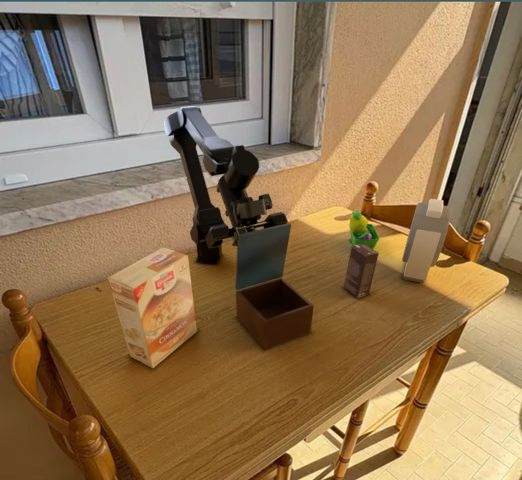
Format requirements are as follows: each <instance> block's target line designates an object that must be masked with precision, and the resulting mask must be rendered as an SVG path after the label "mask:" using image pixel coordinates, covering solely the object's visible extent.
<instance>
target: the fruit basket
mask: <svg viewBox="0 0 522 480" xmlns="http://www.w3.org/2000/svg"><path fill="white" fill-rule="evenodd" d="M348 226H349V231H350V232H349V233H350V241H351V244H352V246H355V245H360V244H365V245H367V246H368V247H370V248H372V249H373V250H375V247H376V245H377V243H378V242H379V240H380V237H379V235H378V232H377V231H376V228H375V226H374V224H372V223H369V220H368V218H366V217H365V216H364V215H362V213H361V212H360V211H352V212H351V215H350V216H349V224H348Z"/></svg>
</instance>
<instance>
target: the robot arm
mask: <svg viewBox="0 0 522 480" xmlns="http://www.w3.org/2000/svg"><path fill="white" fill-rule="evenodd" d="M163 130H164V133H165V136H166V137H167V139H168V141H169V144H170V146H171V147H172V148H173V149H174V150H175V151H176V152H177V153H178V154H179V157H180V160H181V163H182V167H183V171H184V175H185V178H186V177H187V178H186V181H187V184H188V188H189V192H190V195H191V199H192V203H193V206H194V211H193V215H192V219H191V220H192V226H191V229H190V231H189V235H190V239H191V241H193V243H194V244H195V246H196V255H197V257H196V259H195V263H201V264H208V265H218V263H219V262H220V260H221V259H222V257H223V247H222V245H223V242H224V240H226V239H227V240H228V239H232V241H233V242H232V243H231V245H232V247H237V243H238V235H239V234H243V233H248V232H252V231H256V230H261V229H265V228H269V227H274V226H278V225H283V224H287V223H289V220H288V218H287V215H286V213H284V212H282V211H279V212H275V213H269V214H268V211H269V210H272V209H273V207H274V206H273V205H274V204H273V201H272V198H271V196H270V193H264V194H263V193H262V194H261V195H258V199H255V200H254V198H253V197H252V196H249V195H248V192H247V190H246V189H247V188H249V186H250V185H251V183H252V181H253V180H254V178H255V176H256V175H257V174H258V172H259V169H260V161H259V159H258V158H257V157H256V155H255V154H254V153H252V151H250V150H247V149H246V148H245V146H244V144H240V145H233V144H232V143H231V142H230V141H229V140H227V139H224V138H221V137H220V136H218V135H217V133H216V132H215V130H214V129H213V128H212V126H211V124H209V122H208V121H207V119H206V118H205V116H204V115H203V113H202V109H201V108H200V106H197V105H191V106H189V105H188V106H181V107H180V108H178V109H177V110H176V111H175V112H172V113H171V114H169V115H167V116H166V118H165V119H164V121H163ZM197 147H198V148H199V149H200V151H201V153H202V163H203V167H204V170H205V171H206V172H207V173H208V175H209V176H211V177H216V176H221V177H219V179H218V181H217V183H216V185H217V186H216V193H219V194H220V197H221V199H222V203H223V205H224V207H225V211H224V215H225V216H226V217H228V218H229V221H230V224H231V228H229V225H228V224H226V222H225V220H224V219H223V217H222V213H221V209H220V207H218V206H215V205H214V204H213V203H212V201H211V197H210V194H209V190H208V186H207V182H206V179H205V175H204V171H203V168H202V165H201V161H200V157H199V154H198V153H199V152H198V149H197ZM265 215H267V216H266V218H265V219H264V220H262V221H261V219H262V216H265ZM258 220H259V221H258Z"/></svg>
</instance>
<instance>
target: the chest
mask: <svg viewBox="0 0 522 480" xmlns="http://www.w3.org/2000/svg"><path fill="white" fill-rule="evenodd" d="M235 298H236V299H235V301H236V302H235V303H236V304H235V305H236V307H235V308H236V319H237V320H238V321H239V322H240V323H241V324H242V326H243V327H244V328H245V330H247V332H248V333H249V334H250V335H251V336H252V338H254V340H255V341H256V342H257V343H258V344H259V345H260V347H261V348H262V350H268V349H270V348H273V347H276V346H278V345H281V344H285V343H286V342H289V341H292V340H295V339H297V338H300V337H303V336H305V335H308V334H310V333H311V331H312V323H313V314H314V308H315V307H314V306H315V305H314V304H313V303H312V302H310V301H309V299H307V298H306V297H305V296H303V294H301V293H300V292H299V291H298V290H296V289H295V288H294V287H293V286H292V285H291V284H289V282H287V281H286V280H285V279H284V278H283V277H280V278H277V279H274V280H270V281H267V282H263V283H260V284H256V285H253V286H249V287H246V288H243V289H239V290H236V291H235Z"/></svg>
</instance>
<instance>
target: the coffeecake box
mask: <svg viewBox="0 0 522 480" xmlns="http://www.w3.org/2000/svg"><path fill="white" fill-rule="evenodd" d="M107 280H108V285H109V288H110V291H111V295H112V298H113V301H114V305H115V309H116V313H117V317H118V319H119V323H120V327H121V330H122V333H123V336H124V340H125V344H126V347H127V351H128V353H129V357H130V358H131V359H134V360H136V361H138V362H140V363H142V364H144V365H145V366H147V367H149V368H151V369H155V367H157V366H158V365H159V364H160V363H161V362H162V361H163V360H165V359H166V358H167V357H168V356H169V355H171V354H172V353H174V351H176V350H177V349H178V348H179V347H181V346H182V345H183V344H184V343H185V342H186V341H188V339H190V338H191V337H192V336H194V335H195V334H196V333H198V326H197V318H196V312H195V311H196V310H195V302H194V294H193V287H192V286H193V285H192V278H191V270H190V261H189V255H188V254H185V253H182V252H179V251H176V250H173V249H170V248H167V247H164V246H162V247H160V248H159V249H158V250H155V251H154V252H152V253H150V254H148V255H146V256H145V257H143V258H141V259H139V260H137V261H135V262H134V263H132V264H130V265H128V266H126V267H125V268H123V269H121V270H119V271H117V272H115V273H114V274H112V275H110V276H108V277H107Z"/></svg>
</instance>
